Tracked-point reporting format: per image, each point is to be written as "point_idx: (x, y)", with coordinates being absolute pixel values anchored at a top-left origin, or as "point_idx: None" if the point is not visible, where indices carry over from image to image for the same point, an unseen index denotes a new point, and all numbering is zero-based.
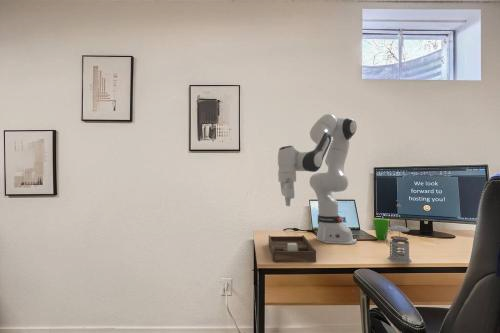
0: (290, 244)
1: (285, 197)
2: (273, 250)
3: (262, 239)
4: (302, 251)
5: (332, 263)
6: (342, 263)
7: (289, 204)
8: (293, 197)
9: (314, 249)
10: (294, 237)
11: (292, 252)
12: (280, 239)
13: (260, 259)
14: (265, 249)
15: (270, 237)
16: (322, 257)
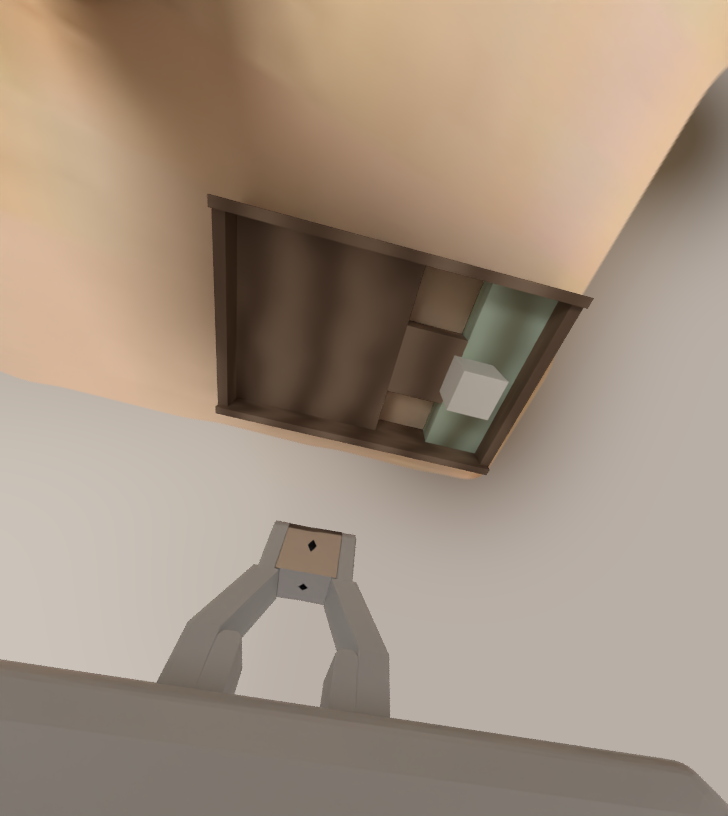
0: (481, 408)
1: (234, 689)
2: (483, 472)
3: (138, 388)
4: (543, 364)
5: (628, 212)
6: (668, 144)
7: (353, 556)
8: (717, 800)
9: (570, 297)
10: (228, 272)
11: (522, 406)
12: (234, 352)
13: (428, 471)
14: None
15: (259, 417)
16: (515, 215)
